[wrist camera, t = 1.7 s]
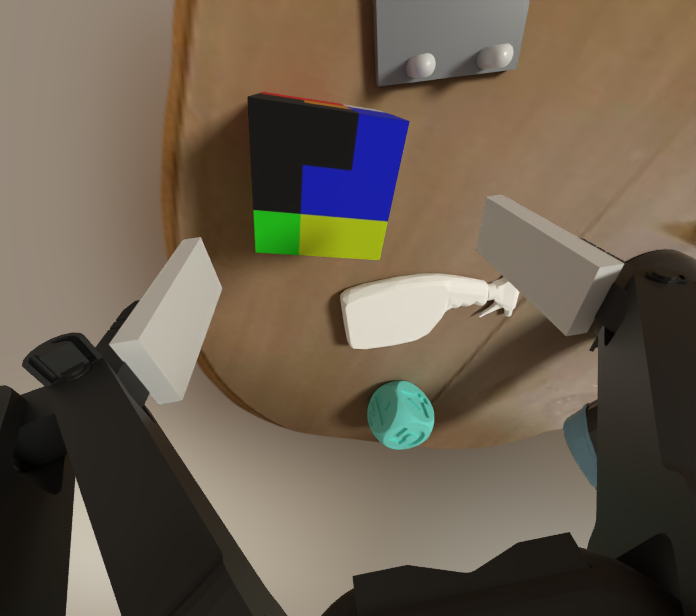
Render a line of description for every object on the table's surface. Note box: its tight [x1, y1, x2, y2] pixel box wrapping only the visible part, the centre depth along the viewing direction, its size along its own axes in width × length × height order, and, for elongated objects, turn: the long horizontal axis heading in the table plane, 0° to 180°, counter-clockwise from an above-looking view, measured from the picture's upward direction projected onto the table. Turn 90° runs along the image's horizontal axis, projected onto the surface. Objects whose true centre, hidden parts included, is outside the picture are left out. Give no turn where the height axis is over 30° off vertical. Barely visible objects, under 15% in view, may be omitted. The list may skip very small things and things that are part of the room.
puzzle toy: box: [248, 92, 409, 260], centre depth 25 cm, size 10×10×10 cm
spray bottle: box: [340, 273, 519, 349], centre depth 41 cm, size 3×11×24 cm
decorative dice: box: [367, 381, 434, 449], centre depth 50 cm, size 8×8×8 cm
